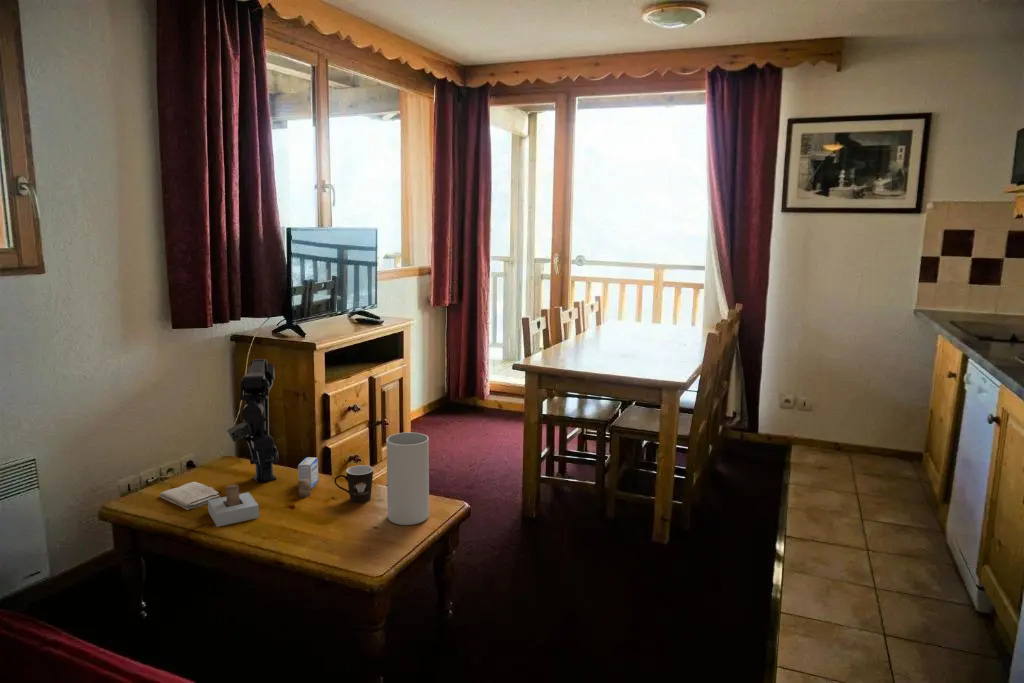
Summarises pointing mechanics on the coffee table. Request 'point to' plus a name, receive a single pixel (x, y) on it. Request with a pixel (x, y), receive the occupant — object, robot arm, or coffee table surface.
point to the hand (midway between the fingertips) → (257, 461)
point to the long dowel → (232, 495)
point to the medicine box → (309, 470)
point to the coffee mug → (358, 483)
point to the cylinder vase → (407, 478)
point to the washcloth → (190, 495)
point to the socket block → (233, 510)
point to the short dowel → (304, 487)
